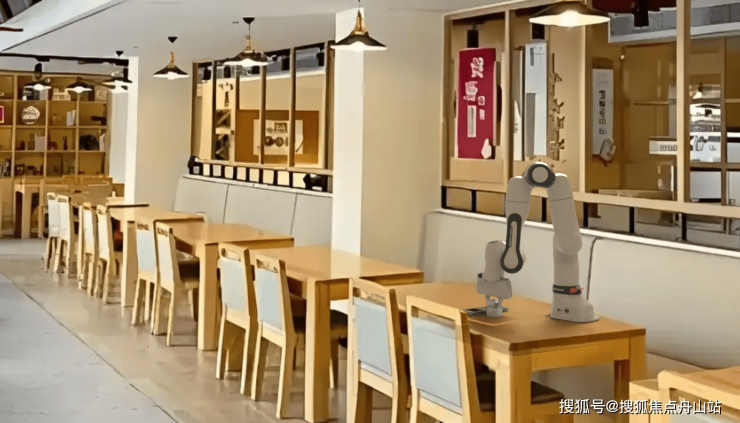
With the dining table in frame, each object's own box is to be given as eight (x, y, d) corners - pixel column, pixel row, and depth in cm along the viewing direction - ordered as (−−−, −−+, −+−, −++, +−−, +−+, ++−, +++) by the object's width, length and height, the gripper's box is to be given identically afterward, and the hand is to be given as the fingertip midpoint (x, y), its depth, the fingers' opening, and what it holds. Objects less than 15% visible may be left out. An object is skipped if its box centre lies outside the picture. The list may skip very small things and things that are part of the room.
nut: (502, 318, 383) (502, 306, 383) (496, 319, 379) (497, 308, 379) (491, 316, 386) (492, 305, 386) (486, 318, 382) (486, 307, 382)
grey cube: (501, 311, 394) (501, 299, 394) (493, 312, 391) (493, 300, 391) (494, 309, 398) (494, 298, 398) (485, 310, 395) (486, 299, 395)
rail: (508, 313, 394) (508, 307, 394) (471, 318, 382) (471, 312, 382) (495, 310, 401) (495, 304, 401) (459, 315, 388) (459, 309, 388)
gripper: (515, 278, 387) (515, 308, 388) (484, 272, 404) (484, 302, 405) (505, 279, 383) (504, 310, 384) (474, 273, 400) (473, 303, 401)
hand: (493, 306), depth 395 cm, fingers closed on grey cube, 5 cm apart
